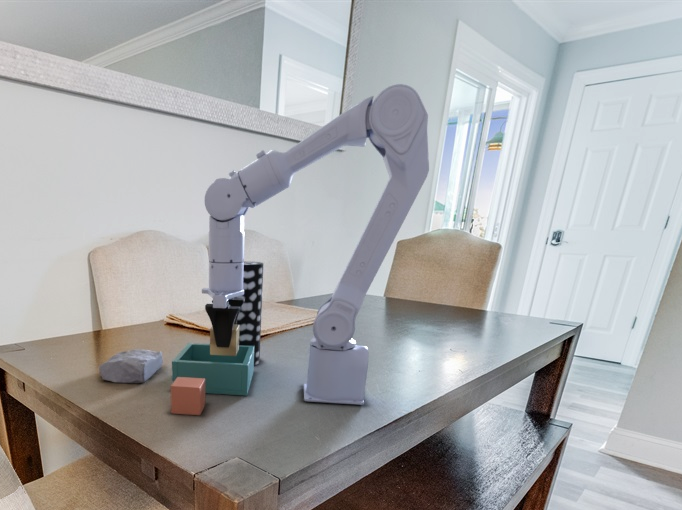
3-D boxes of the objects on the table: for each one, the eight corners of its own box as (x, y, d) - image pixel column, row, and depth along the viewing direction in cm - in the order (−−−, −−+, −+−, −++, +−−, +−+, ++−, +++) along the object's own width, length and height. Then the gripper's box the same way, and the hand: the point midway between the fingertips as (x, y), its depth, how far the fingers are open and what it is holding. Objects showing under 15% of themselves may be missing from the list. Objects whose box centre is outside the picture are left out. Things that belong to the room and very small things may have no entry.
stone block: (97, 390, 85) (147, 383, 83) (91, 365, 84) (141, 357, 81) (123, 373, 96) (167, 366, 94) (117, 350, 95) (162, 343, 92)
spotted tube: (266, 359, 99) (270, 262, 91) (247, 369, 92) (250, 265, 85) (232, 353, 103) (234, 260, 96) (212, 362, 96) (212, 263, 89)
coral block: (205, 404, 74) (205, 378, 73) (200, 415, 70) (199, 387, 68) (178, 403, 75) (177, 376, 73) (171, 413, 71) (170, 385, 69)
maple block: (238, 349, 82) (239, 324, 81) (235, 356, 78) (236, 330, 77) (214, 348, 83) (214, 323, 81) (209, 354, 79) (209, 329, 77)
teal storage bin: (253, 372, 90) (254, 345, 88) (247, 395, 78) (248, 365, 76) (188, 369, 92) (188, 342, 90) (172, 391, 80) (171, 361, 78)
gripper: (209, 258, 82) (209, 332, 87) (193, 265, 69) (194, 352, 74) (248, 258, 81) (246, 334, 86) (239, 266, 68) (237, 354, 73)
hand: (225, 343), depth 80 cm, fingers closed on maple block, 4 cm apart
